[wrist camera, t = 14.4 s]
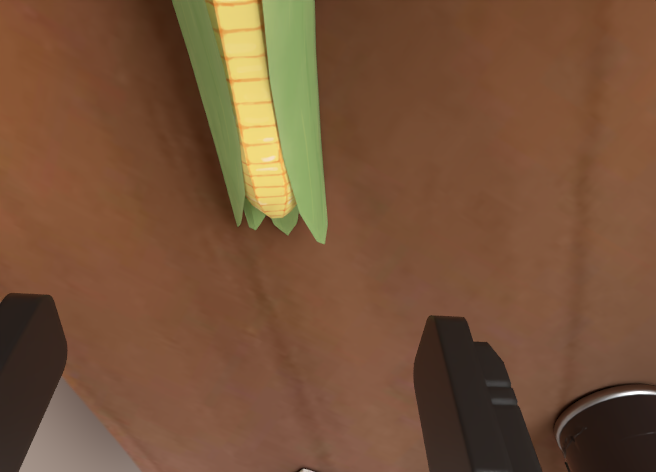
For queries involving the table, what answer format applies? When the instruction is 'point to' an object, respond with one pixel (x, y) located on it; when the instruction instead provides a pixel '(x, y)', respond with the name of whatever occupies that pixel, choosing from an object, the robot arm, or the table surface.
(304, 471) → the milk carton
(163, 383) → the table surface
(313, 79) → the edible corn
